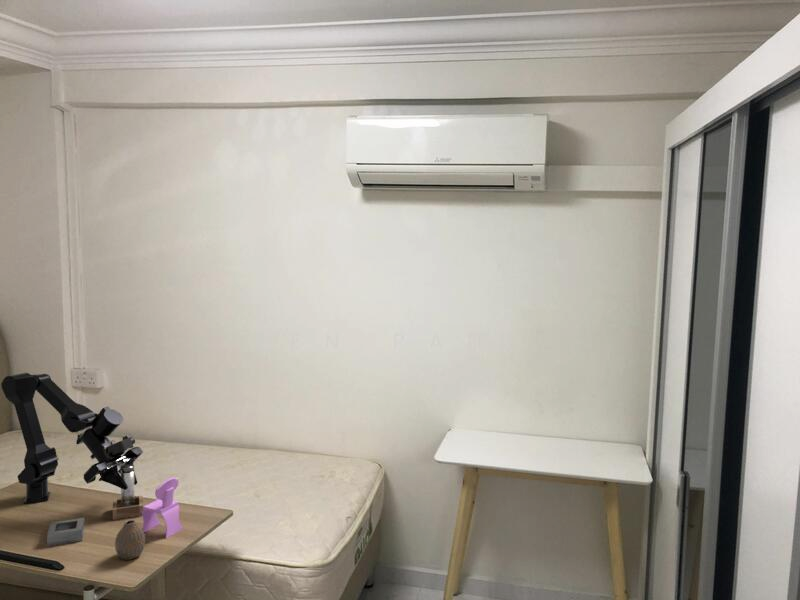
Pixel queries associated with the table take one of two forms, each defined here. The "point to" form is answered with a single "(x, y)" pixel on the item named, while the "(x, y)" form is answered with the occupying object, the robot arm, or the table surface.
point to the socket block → (65, 531)
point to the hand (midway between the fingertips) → (131, 486)
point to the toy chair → (163, 508)
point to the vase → (130, 541)
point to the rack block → (127, 508)
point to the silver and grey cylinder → (128, 477)
